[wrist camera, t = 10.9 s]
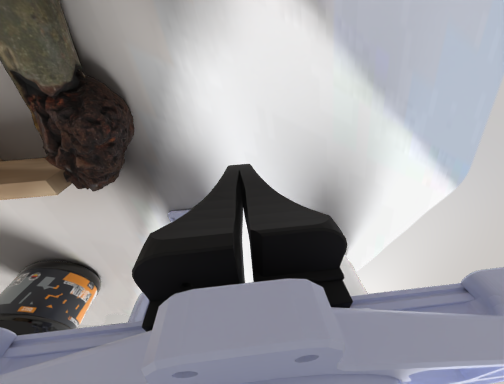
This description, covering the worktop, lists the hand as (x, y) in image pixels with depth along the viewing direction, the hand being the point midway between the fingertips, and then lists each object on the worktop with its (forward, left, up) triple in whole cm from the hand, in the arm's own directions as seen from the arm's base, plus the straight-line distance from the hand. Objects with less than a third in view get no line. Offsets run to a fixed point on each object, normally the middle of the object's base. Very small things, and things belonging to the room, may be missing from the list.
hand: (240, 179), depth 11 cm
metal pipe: (+5, +12, -10) cm, 17 cm away
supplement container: (-22, +30, -10) cm, 39 cm away
